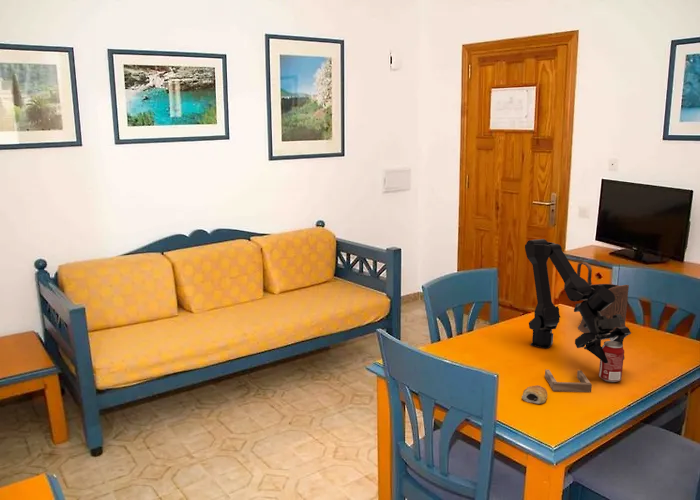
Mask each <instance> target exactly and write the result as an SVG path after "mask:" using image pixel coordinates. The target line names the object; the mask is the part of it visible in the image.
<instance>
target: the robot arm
mask: <svg viewBox="0 0 700 500" xmlns="http://www.w3.org/2000/svg"><path fill="white" fill-rule="evenodd" d="M524 251H525V255H526V257H527V260H529V261H528V262H530V263H531V265H532V271H533V278H534V284H535V285H534V286H535V294H536V299H537V301H536V302H537V304H536V306H535V309H534V317H533V318H532V319H531V320H530V321H529V322H528V327H529V329H530V330H532V336H531V337H532V338H531V343H530V346H532V347H537V348H542V349H543V348H544V349H550V347H551V346H553V344H554V332H553V330H556V329H557V327H558V324H559V323H560V320H561V319H560V318H561V315H560V308H559V306H557V305H556V306H555V304H554V302H553V301H552V295H551V286H550V280H549V279H550V277H549V272H548V260H550V261H551V262H552V264H553V267H554V268H555V269H556V271H557V273H558V275H559V276H560V278H561V279H562V281H563V282H564V284H563V289H564V292H565V294H566V296H567V299H569V301H570V302H574V303H575V302H580V301H581V302H580V303H575V306H574V309H573V312H574V313H577V312H579V314H580V315H581V319H582V318H583V320H584V322H585V324H584V325H583V326H584V328H588V330H589V333H583V332H582V333H581V334H580V335H579V336H578V337H576V338H575V340H574V344H575V347H576V349H580V348H581V349H582V348H583V349H584V350H587V351H588V352H590V353H591V354H593V355H594V356H595V357H596V358H597V359H599V361H600V360H601V361H603V362H604V363H605V364H606V363H608V360H607V358H606V356H605V353H604V351H603V349H602V340H608V339H609V341H616V342H619V343H621V344H622V345H623V346H622V347H623V348H624V343H623V342H624V340H625V338H627V336H628V337H629V335H631V334H632V332H631V330H630V329H629V327H628V326H626V325H625V326H626V327H625V326H624V327H621V324H623V323H624V320H623V318H622V316H621V315H620V314H617V315H613V318H610V319H607V317H606V316H602V315H601V313H600V311H602V310H604V309H605V308H606V307H608V306H609V305H610V304H612V303H613V302H614V301H615V296H614V294H613V292H611V291H610V290H609V289H607V288H605V287H604V285H599V286H597V287H596V289H593V288H591V286H590V285H589V284H588V281H587V280H585V278H583V277H582V276H581V275H580V276H578V275H577V271H575V270H576V269H574V267H573V266H572V264H571V263H570V261H569V259H568V258H567V256H566V255H565V253H564V251H563V248H562V246H561V244H558V243H555V242H550V241H547V239H545V238H541V239H531V240H530V239H529V240H528V241H526V244H525V245H524ZM584 300H585V301H584ZM615 327H618V328H616V329H615V330H613V329H614V328H615ZM612 330H613V331H612ZM610 331H612V332H610ZM604 336H605V337H604ZM625 359H626V358H625V357H624V359H623V361H624V360H625Z"/></svg>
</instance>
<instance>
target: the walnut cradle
mask: <svg viewBox="0 0 700 500" xmlns="http://www.w3.org/2000/svg"><path fill="white" fill-rule="evenodd" d="M544 371H545V372H544V377H545V380H546V381H547V383H548V384H549V386H550V388H551V389H552V392H567V393H568V392H569V393H571V392H572V393H573V392H574V393H575V392H576V393H592V387H593V385H592V384H593V383H591V382H590V380H589V379H588V378H587V376H586V374H585V373H584V372H583V370H581V369H578V370H577V372H576V373H577V374H576V378H577V380H578V381H579V382H567V381H561V382H560V381H557V379H556V378H555V377H554V375H553V374H552V372H551V370H550V369H545V370H544Z"/></svg>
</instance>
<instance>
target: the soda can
mask: <svg viewBox="0 0 700 500" xmlns="http://www.w3.org/2000/svg"><path fill="white" fill-rule="evenodd" d="M622 346H623V347H622ZM601 347H602V349H603V351H604V353H605V356H606V358H607V360H608V363H606V364H605V363H604V362H603V361H601V360H600V359H599V367H598V377H599V378H600V379H601V380H602V381H605V382H607V383H616V382H620V381H621V380H622V377H623V376H622V375H623V369H624V368H623V367H624V360H625V359H624V358H625V349H624V344H623V345H622V344H621V343H619V342H616V341H610V340H606V341H604V342H603V345H601ZM623 359H624V360H623Z"/></svg>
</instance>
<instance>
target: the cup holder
mask: <svg viewBox="0 0 700 500" xmlns="http://www.w3.org/2000/svg"><path fill="white" fill-rule="evenodd" d="M582 265H584V266H585V267H586V268H587V280H586V282H587V283H588V284H589V285H590V286H591V288H593V289H596V287H597V286H599V285H604V287H605V288H607V289H609V290H610V291H611V292H613V294H614V296H615V301H614V302H613V303H612V304H610V305H609V306H608V307H606V308H605V309H604V310H602V311H600V313H601V315H602V316H606V317H607V319H610V318H613V315H617V314H620V315H621V316H622V318H623V320H624V323H623V324H621V327H624V326H625V327H627V326H626V319H627V308H628V300H629V298H628V296H629V289H630V286H629V284H623V285H619V284H614V283H598V284H597V283H595V284H592V283H593V282H592V274H593V269H592V268H593V267H592V266H591V264H589V262H586V261H583V262H582V261H581V262H579V263H578V264H577V266H576V267H577V268H576V273H577V275H578V276H580V277H581V272H582V271H581V270H582ZM583 301H585V300H583ZM584 324H585V322H584V320H583V318H582V317H581V321H580V323H579V325H578V326H577V330H578V331H579V332H581V333H582V334H583V333H589V330H588V328H584V326H583V325H584ZM616 328H618V327H615V328H614V329H613V330H615V329H616ZM613 330H612V331H613ZM612 331H610V332H612ZM604 337H605V336H604Z"/></svg>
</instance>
